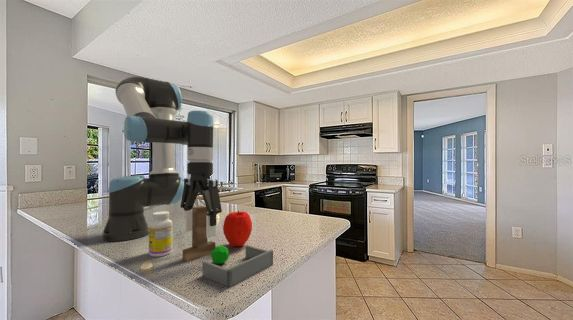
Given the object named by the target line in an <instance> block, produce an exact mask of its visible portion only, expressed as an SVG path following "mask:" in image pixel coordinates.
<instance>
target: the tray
mask: <svg viewBox="0 0 573 320" xmlns="http://www.w3.org/2000/svg"><path fill="white" fill-rule="evenodd" d="M245 258H246V259H247V260H245V261H242V262H240V263H237V264H236V265H235V264H234V265H233V266H231V267H228V268H226V267H223V266H220V265H219V264H216V263H212V262H210V261H206V260H204V261H202V277H204V278H207V279H209V280H212V281H214V282H217V284H218V283H219V284H221V285H222V286H223V285H224V286H226V287H228V288H231V287H233V286H235V285H237V284H238V283H240V282H242V281H245V280H246V279H248V278H250V277H252V276H254V275H255V274H258V273H260V272H261V271H263V270H265V269H267V268H269V267H271V266H273V265H274V250H273V249H269V250H267V249H264V248H259V247H257V246H256V247H255V246H252V245H249V244H247V245H245Z"/></svg>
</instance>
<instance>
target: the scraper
mask: <svg viewBox="0 0 573 320" xmlns="http://www.w3.org/2000/svg"><path fill="white" fill-rule="evenodd" d="M191 210H192V231H191V239H192V240H191V247H187V248H184V249H182V261H184V262H186V263H188V262H191V261H194V260H196V259H197V260H198V259H200V258H202V257H205V256H208V255H211V253H212V250H213V249H215V248H216V242H215V241H212V240H211V241H210V240H209V241H208V238H206V216H207V214H208V211H207V208H206V205H198V206H193V207H192V209H191Z"/></svg>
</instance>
